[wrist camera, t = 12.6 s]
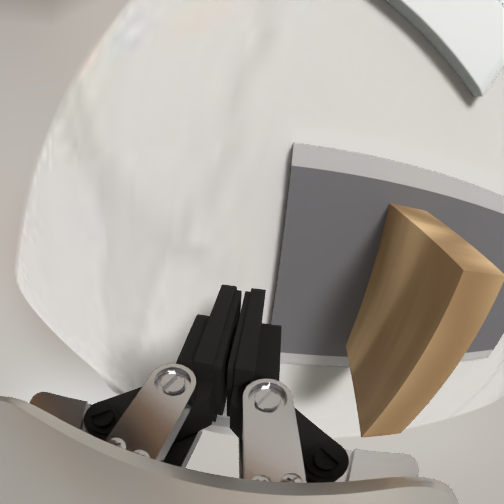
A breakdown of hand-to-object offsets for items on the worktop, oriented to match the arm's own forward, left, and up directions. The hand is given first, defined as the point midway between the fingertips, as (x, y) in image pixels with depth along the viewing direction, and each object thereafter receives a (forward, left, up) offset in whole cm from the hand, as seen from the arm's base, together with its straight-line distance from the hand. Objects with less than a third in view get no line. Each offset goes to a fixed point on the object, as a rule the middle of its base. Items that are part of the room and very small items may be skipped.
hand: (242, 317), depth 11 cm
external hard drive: (-11, -19, -5) cm, 23 cm away
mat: (-11, 0, -4) cm, 12 cm away
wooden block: (-7, 0, -4) cm, 8 cm away
